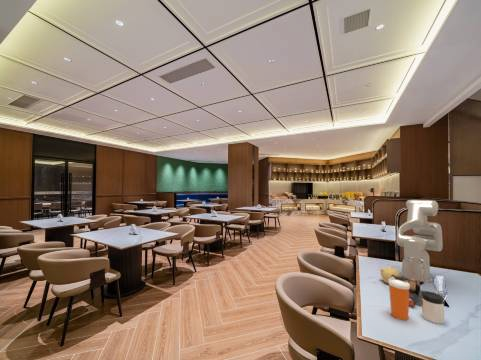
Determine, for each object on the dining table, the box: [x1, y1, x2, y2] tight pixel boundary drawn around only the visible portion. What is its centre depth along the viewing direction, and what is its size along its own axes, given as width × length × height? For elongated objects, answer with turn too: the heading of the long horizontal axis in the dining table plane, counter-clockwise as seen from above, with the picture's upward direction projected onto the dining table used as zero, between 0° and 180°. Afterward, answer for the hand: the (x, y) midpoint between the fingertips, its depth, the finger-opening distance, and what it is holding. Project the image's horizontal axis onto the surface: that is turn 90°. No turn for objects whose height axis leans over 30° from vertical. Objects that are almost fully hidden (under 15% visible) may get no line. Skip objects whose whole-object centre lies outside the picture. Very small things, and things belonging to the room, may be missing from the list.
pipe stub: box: [408, 278, 417, 294], centre depth 125 cm, size 5×5×10 cm
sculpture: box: [380, 266, 400, 284], centre depth 146 cm, size 11×12×11 cm
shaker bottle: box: [387, 274, 410, 321], centre depth 108 cm, size 9×9×20 cm
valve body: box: [409, 289, 424, 309], centre depth 122 cm, size 17×11×6 cm, turn 133°
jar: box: [421, 290, 445, 325], centre depth 106 cm, size 9×8×12 cm
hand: (412, 290), depth 124 cm, fingers closed on pipe stub, 3 cm apart
